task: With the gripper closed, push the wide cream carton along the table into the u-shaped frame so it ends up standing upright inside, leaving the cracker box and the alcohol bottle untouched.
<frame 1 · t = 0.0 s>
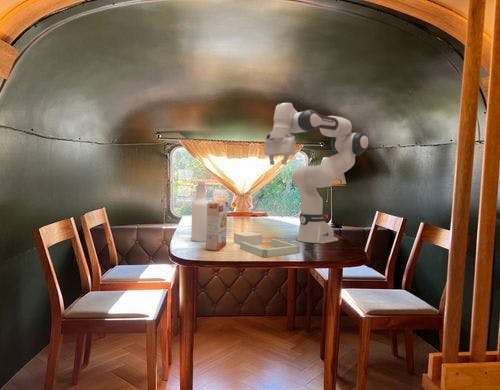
hand: (277, 164, 164), 39 cm above the table, tool pointing down, fingers open, 8 cm apart
cracker box: (216, 247, 156), on the table
u-shaped frame: (269, 250, 152), on the table
alcohol: (200, 240, 171), on the table
carton: (247, 243, 168), on the table
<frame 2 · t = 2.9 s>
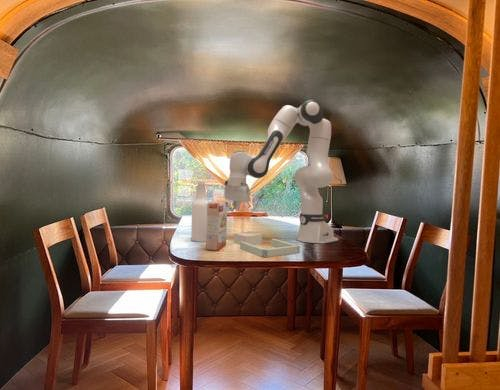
hand: (236, 209, 176), 15 cm above the table, tool pointing down, fingers closed
nothing on the table moved.
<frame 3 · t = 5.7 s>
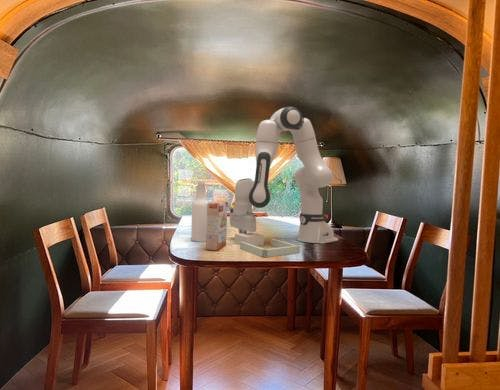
hand: (242, 238, 172), 2 cm above the table, tool pointing down, fingers closed
carton: (248, 244, 165), on the table
everything else where it was.
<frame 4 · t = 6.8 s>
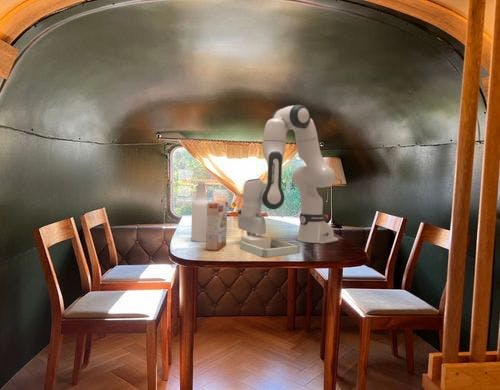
hand: (250, 241, 165), 2 cm above the table, tool pointing down, fingers closed
carton: (255, 248, 158), on the table, touching gripper
everything else where it was.
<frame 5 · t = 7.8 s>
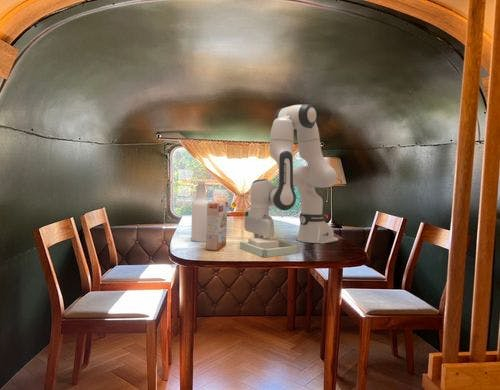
hand: (258, 243, 160), 2 cm above the table, tool pointing down, fingers closed
carton: (263, 251, 152), on the table
everything else where it was.
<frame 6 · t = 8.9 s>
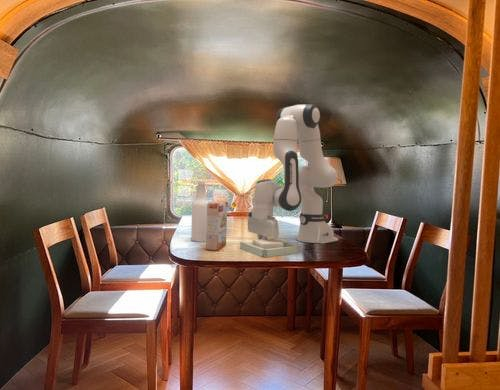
hand: (262, 244, 157), 2 cm above the table, tool pointing down, fingers closed
carton: (267, 252, 150), on the table
everything else where it was.
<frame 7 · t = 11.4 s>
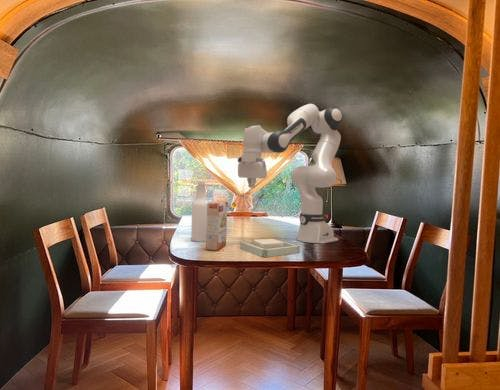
hand: (251, 187, 165), 27 cm above the table, tool pointing down, fingers closed
nothing on the table moved.
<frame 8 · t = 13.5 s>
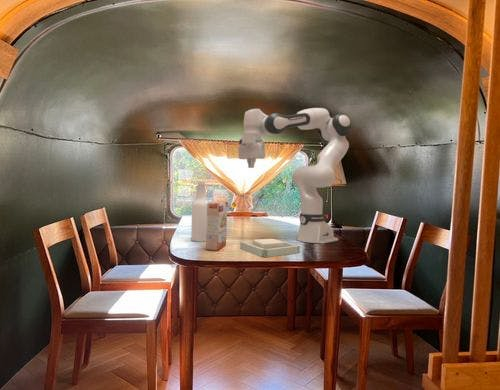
hand: (251, 167, 175), 37 cm above the table, tool pointing down, fingers closed
nothing on the table moved.
at the end: carton inside the target area on the u-shaped frame (2.2 cm from its centre), point 0.0 cm above the u-shaped frame's base; carton tilted 0°; the gripper is holding nothing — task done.
